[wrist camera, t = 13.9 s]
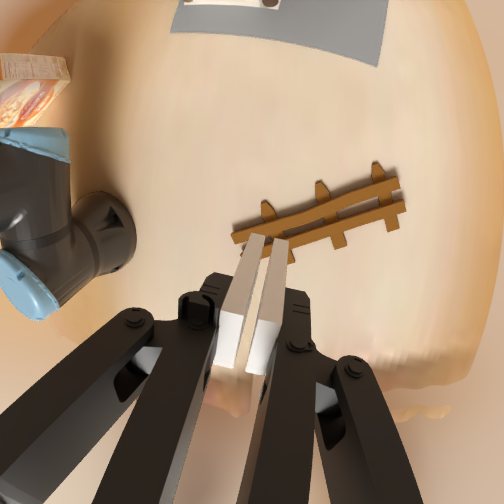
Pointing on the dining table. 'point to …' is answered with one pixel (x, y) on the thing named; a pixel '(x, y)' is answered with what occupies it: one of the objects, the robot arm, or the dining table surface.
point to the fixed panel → (241, 0)
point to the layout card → (293, 23)
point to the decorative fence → (329, 215)
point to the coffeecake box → (29, 86)
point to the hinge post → (270, 3)
